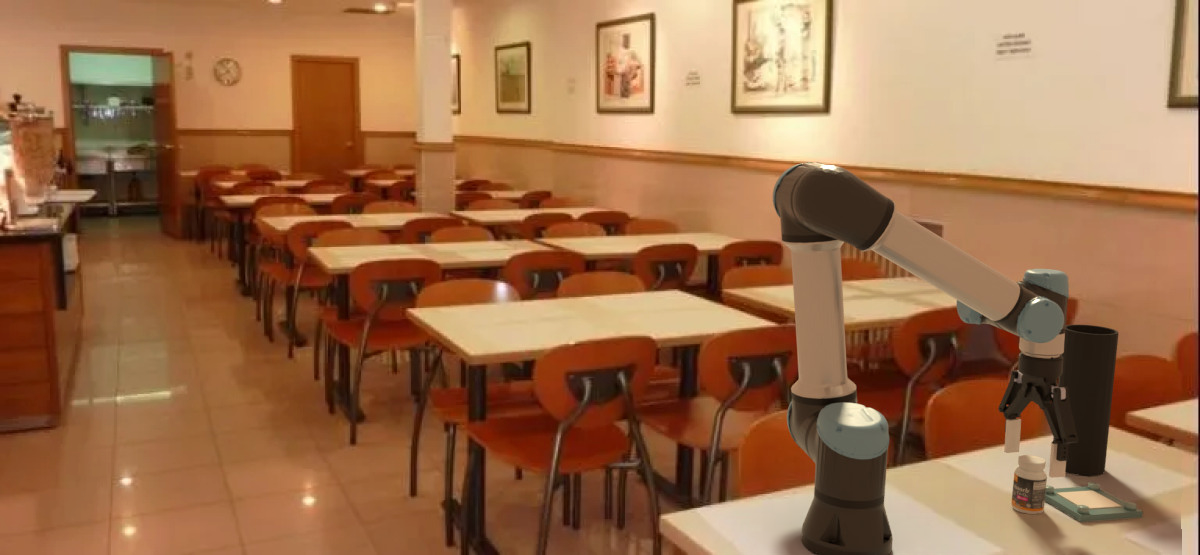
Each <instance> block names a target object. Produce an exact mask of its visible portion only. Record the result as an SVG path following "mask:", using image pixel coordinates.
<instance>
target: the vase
mask: <svg viewBox="0 0 1200 555" xmlns="http://www.w3.org/2000/svg"><path fill="white" fill-rule="evenodd" d="M1118 342H1119V331H1118V330H1116V329H1114V328H1110V327H1106V326H1105V327H1104V326H1100V325H1094V324H1093V325H1092V324H1069V325H1068V324H1066V328H1065V339H1064V353H1062V354H1061V356H1062V357H1063V372H1062V375H1061V376H1060V377H1058V383H1057V387H1068V388H1069V401H1070V405H1071V409H1072V414H1073V418H1074V422H1075V427H1076V431H1077V435H1078V442H1077V443H1070V444H1069V447H1068V459H1067V461H1066V469H1065V474H1066V473H1067V474H1071V475H1076V476H1083V477H1084V476H1085V477H1093V476H1094V477H1095V476H1099V475H1103V474H1104V473H1105V472H1106V471H1105V470H1106V461H1107V451H1108V443H1109V442H1108V441H1109V433H1110V424H1111V423H1110V421H1111V412H1112V411H1111V410H1112V403H1113V402H1112V401H1113V393H1114V392H1113V391H1114V380H1115V373H1116V363H1117V362H1116V361H1117V354H1118V344H1119V343H1118ZM1070 436H1071V435H1070ZM1060 437H1061V434H1060ZM1052 438H1053V439H1052V442H1053V441H1054V440H1055V439H1054V437H1052Z"/></svg>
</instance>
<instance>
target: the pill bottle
mask: <svg viewBox="0 0 1200 555" xmlns="http://www.w3.org/2000/svg"><path fill="white" fill-rule="evenodd" d="M1017 463H1018V465H1019V466H1018V467H1016V469H1015V470H1014V472H1013V473H1014V474H1013V475H1014V476H1013V484H1012V493H1011V503H1010V505H1011V507H1012V509H1013V510H1015V511H1017V512H1019V513H1022V514H1027V515H1039V514H1042V513H1043V512H1044V510H1045V502H1046V501H1045V492H1046V485H1047V479H1048V475H1047V473H1046V471H1045V470H1044V469H1045V468H1046V460H1045V459H1044V458H1042V457H1039V456H1036V455H1030V454H1024V455H1020V456H1018V460H1017Z"/></svg>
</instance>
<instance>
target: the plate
mask: <svg viewBox="0 0 1200 555" xmlns="http://www.w3.org/2000/svg"><path fill="white" fill-rule="evenodd" d="M1045 502H1046V503H1047V504H1049V505H1051V506H1052V507H1055V508H1056V509H1058V510H1059V511H1061V512H1063V513H1064V514H1066V515H1068V516H1070V517H1071V518H1073V519H1074V520H1076V521H1078V522H1080V523H1084V522H1085V523H1086V522H1098V521H1099V522H1100V521H1111V520H1114V521H1115V520H1124V519H1125V520H1127V519H1139V518H1141V519H1142V518H1143V513H1144V511H1143V510H1141V509H1139V508H1138V507H1137V503H1136V502H1132V501H1125V500H1122V499H1120V498H1118V497H1117V496H1114V495H1113V494H1111V493H1109V492H1108V491H1106V490H1103V489H1102V488H1100V484H1099V483H1098V482H1097V483H1096V482H1088V484H1087V486H1076V487H1075V486H1074V487H1058V488H1055V487H1054V486H1052V485H1049V484H1048V485H1047V484H1046V492H1045Z"/></svg>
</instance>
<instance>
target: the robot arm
mask: <svg viewBox="0 0 1200 555" xmlns="http://www.w3.org/2000/svg"><path fill="white" fill-rule="evenodd" d="M772 190H773V191H772V204H773V207H774V210H775V213H776V214H777V217H778V218H780V234H781V243H782V244H784V245H785V246H786V247H787V248H788V249H789V250H790V253H791V254H790V255H791V257H790V258H791V269H792V286H793V288H792V290H793V302H794V303H793V304H794V317H795V318H794V319H795V321H794V322H795V336H796V349H797V350H796V353H797V368H798V370H797V371H798V380H796V381H795V383H793V384H792V386H790V387H791V388H790V390H791V392H790V393H791V401H790V402H789V405H788V408H787V412H786V423H787V428H788V431H789V433H790V436H791V438H792V439H793V441H794V443H795V444H796V445H797V446H798V447H799V448H800V449H801V450H803V451H804V453H805V454H806V455H807V456H808V457H809V459H811V460H812V461H813V463H814V464H815V469H814V470H815V471H814V472H815V473H814V489H813V490H814V491H813V499H812V500H811V501H812V502H811V503H810V507H809V509H808V511H807V514H806V516H805V518H804V521H803V523H802V526H801V536H800V537H801V542H802V544H803V545H804V547H805V548H807V549H808V550H809V551H810V552H813V553H814V554H815V555H891V553H892V551H893V534H892V529H891V526H890V522H889V518H888V515H887V511H886V508H885V493H886V481H887V467H888V466H887V465H888V455H889V454H888V450H889V445H890V434H889V423H888V421H887V418H886V417H885V416H884V415H883V414H882V413H881V412H880V411H878V410H876V409H874V408H872V407H866V405H864V404H861V403H858V395H857V394H858V393H857V392H858V391H857V384H855V382H854V381H852V380H851V379H850V378H849V377H848V367H847V350H846V349H847V348H846V345H847V344H846V332H845V330H846V328H845V327H846V326H845V310H844V295H843V294H844V293H843V291H844V290H843V289H844V288H843V274H842V272H843V271H842V256H841V255H842V254H841V253H842V252H841V248H842V246H843V244H844V243H846V244H848V245H850V246H852V247H853V248H855V249H857V250H858V251H860V252H868V251H872V252H874V253H876V254H878V255H880V257H882V258H884V259H887V260H888V261H889V262H891V263H893V264H894V265H897V266H898V267H900V268H901V269H903V270H905V271H907V272H908V273H910V274H911V275H913V276H915V277H916V278H919V279H920V280H922V281H923V282H925V283H927V284H930V285H931V286H932V287H934V288H936V289H937V290H939V291H941V292H943V293H945V294H946V295H948V296H949V297H951V298H953V299H954V300H956V310H957V314H958V316H959V318H960V320H961V321H962V322H963V323H965V324H971V325H972V324H973V325H978V326H979V325H983V324H985V325H991V326H994V327H996V328H998V329H1000V330H1003V331H1005V332H1008V333H1011V334H1013V335H1015V336H1017V337H1019V343H1018V349H1019V350H1020V353H1018V363H1017V364H1018V365H1017V370H1016V369H1015V370H1011V372H1010V377H1009V378H1010V380H1009V382H1008V385H1007V387H1006V389H1005V392H1004V394H1003V396H1002V398H1001V401H1000V403H999V406H998V408H997V409H998V412H999V413H1002V414H1003V417H1004V419H1005V421H1004V424H1005V425H1004V432H1005V436H1004V453H1006V454H1010V453H1011V454H1012V453H1020V446H1021V445H1020V442H1021V429H1022V428H1021V426H1022V419H1020V418H1022V416H1021V414H1022V413H1023V412H1024V410H1025V409H1026V408H1027V407H1028V405H1029V404H1030V403H1031V402H1033V403H1035V405H1038V406H1039V409H1040V410H1042V411H1043V413H1044V415H1045V418H1046V421H1047V425H1048V426H1049V429H1050V431H1051V435H1052V436H1053V437H1054V439H1055V440H1054V441H1053V440H1052V441H1051V443H1050V444H1051V445H1050V455H1049V456H1050V458H1049V472H1048V477H1050V478H1054V479H1055V478H1062V477H1064V478H1065V477H1066V472H1065V469H1066V461H1067V459H1068V447H1069V444H1070V443H1077V442H1078V435H1077V431H1076V427H1075V422H1074V418H1073V414H1072V409H1071V405H1070V401H1069V388H1068V387H1058V383H1057V380H1058V379H1059V377H1060V376H1061V375H1062V372H1063V357H1062V356H1061V354H1062V353H1064V339H1065V328H1066V325H1067V316H1068V315H1067V314H1068V302H1069V298H1070V295H1069V292H1070V290H1069V288H1070V285H1069V276H1068V274H1067V273H1066V272H1065V271H1062V270H1058V269H1051V268H1050V269H1048V268H1033V269H1030V268H1029V269H1027V270H1026V271H1025V272H1024V274H1023V277H1022V280H1019V281H1015V280H1013V279H1012V278H1010V277H1008V276H1006V275H1004V274H1003V273H1002V272H1000V271H998V270H997V269H995V268H993V267H991V266H990V265H988V264H986V263H985V262H983V261H982V260H980V259H978V258H977V257H975V256H973V255H971V254H970V253H968V252H967V251H964V250H963V249H961V248H960V247H958V246H956V245H955V244H954V243H951V242H950V241H948V240H946V239H945V238H943V237H942V236H940V235H938V234H936V233H934V231H932V230H930V229H928V228H926V227H925V226H923V225H921V224H920V223H918V222H917V221H915V220H913V219H911V218H910V217H908V216H907V215H905V214H903V213H901V212H900V211H898V210H897V205H896V202H895V201H894V200H892V199H891V198H889V197H887V196H886V195H885V194H883V193H881V192H880V191H878V190H877V189H875V188H874V187H872V186H871V185H869V184H868V183H867V182H865V181H864V180H863V179H862V178H860V177H858V176H857V175H855V174H854V173H853V172H851V171H850V170H848V169H845V168H844V167H841V166H837V165H834V164H832V165H831V164H824V163H821V162H817V161H815V162H811V161H807V162H803V163H798V164H795V165H793V166H790V167H789V168H787V169H786V170H784V172H783V173H781V175H780V176H779V177H778V178H777V180H776V182H775V184H774V187H773V189H772ZM1060 434H1061V437H1060ZM1070 435H1071V436H1070ZM1053 437H1052V438H1053Z"/></svg>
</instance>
